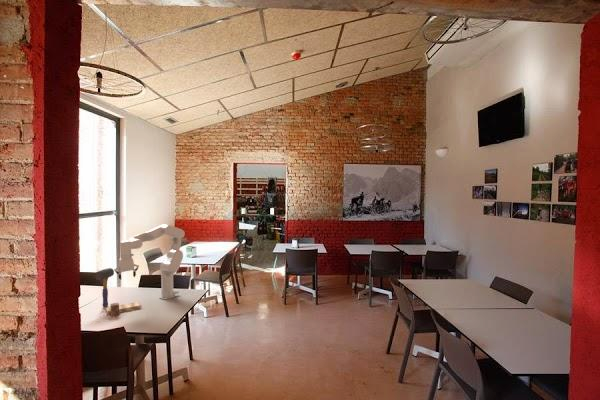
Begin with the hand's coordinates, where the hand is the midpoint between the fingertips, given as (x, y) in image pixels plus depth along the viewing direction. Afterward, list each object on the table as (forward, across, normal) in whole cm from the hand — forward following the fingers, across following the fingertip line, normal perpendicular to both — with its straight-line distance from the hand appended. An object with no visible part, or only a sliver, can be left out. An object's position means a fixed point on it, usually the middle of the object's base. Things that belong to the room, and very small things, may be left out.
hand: (127, 278), depth 251 cm
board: (+24, +4, +1) cm, 24 cm away
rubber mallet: (+24, +15, -15) cm, 32 cm away
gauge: (+24, +11, +4) cm, 26 cm away
